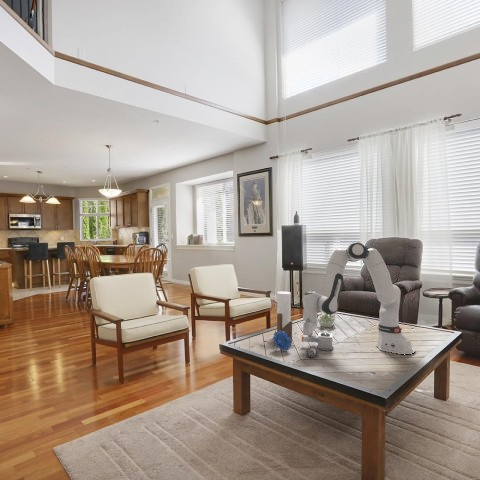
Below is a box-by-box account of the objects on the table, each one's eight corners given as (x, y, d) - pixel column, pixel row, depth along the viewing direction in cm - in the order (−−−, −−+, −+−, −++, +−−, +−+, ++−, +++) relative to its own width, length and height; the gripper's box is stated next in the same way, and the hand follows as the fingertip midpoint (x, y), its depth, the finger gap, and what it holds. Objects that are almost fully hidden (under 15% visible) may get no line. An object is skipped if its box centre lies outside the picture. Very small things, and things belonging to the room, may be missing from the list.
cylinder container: (287, 337, 240) (287, 293, 240) (274, 334, 245) (275, 292, 245) (292, 333, 248) (292, 291, 248) (280, 331, 253) (280, 290, 253)
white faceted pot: (336, 348, 216) (337, 334, 216) (326, 352, 210) (326, 337, 210) (323, 344, 224) (323, 330, 224) (313, 347, 218) (313, 333, 218)
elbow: (332, 344, 220) (332, 333, 220) (332, 349, 212) (332, 337, 212) (302, 342, 225) (302, 331, 225) (301, 346, 217) (301, 335, 217)
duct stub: (310, 354, 206) (310, 345, 206) (318, 356, 203) (318, 347, 203) (305, 357, 201) (305, 348, 201) (313, 358, 198) (313, 350, 198)
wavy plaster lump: (330, 336, 266) (332, 320, 258) (314, 329, 272) (316, 314, 265) (339, 322, 279) (341, 307, 271) (323, 316, 285) (325, 301, 277)
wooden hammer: (289, 344, 225) (289, 316, 225) (275, 340, 232) (275, 313, 232) (292, 342, 228) (292, 315, 227) (278, 339, 235) (278, 312, 235)
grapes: (270, 351, 211) (270, 331, 211) (274, 347, 217) (274, 328, 217) (289, 353, 206) (289, 333, 206) (292, 350, 213) (292, 330, 212)
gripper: (310, 321, 211) (310, 344, 211) (319, 313, 229) (319, 334, 230) (300, 320, 214) (300, 342, 214) (309, 313, 232) (309, 333, 232)
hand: (310, 338), depth 222 cm, fingers closed
